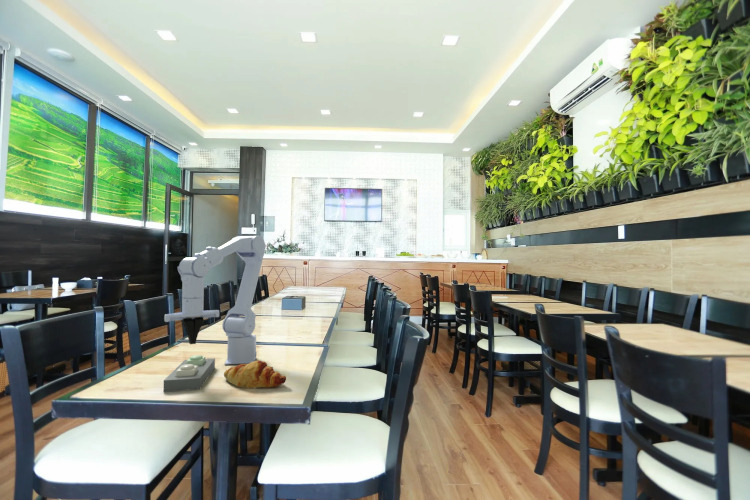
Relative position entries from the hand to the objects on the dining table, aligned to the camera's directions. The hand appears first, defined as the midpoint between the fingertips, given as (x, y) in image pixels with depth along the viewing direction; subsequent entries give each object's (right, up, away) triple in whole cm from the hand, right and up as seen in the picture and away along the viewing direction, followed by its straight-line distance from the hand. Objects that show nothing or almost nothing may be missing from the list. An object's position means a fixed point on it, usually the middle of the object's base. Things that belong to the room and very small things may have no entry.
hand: (192, 343), depth 108 cm
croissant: (+20, -11, -4) cm, 23 cm away
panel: (0, -10, 0) cm, 10 cm away
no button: (+1, -9, -5) cm, 10 cm away
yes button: (-1, -9, +5) cm, 10 cm away
